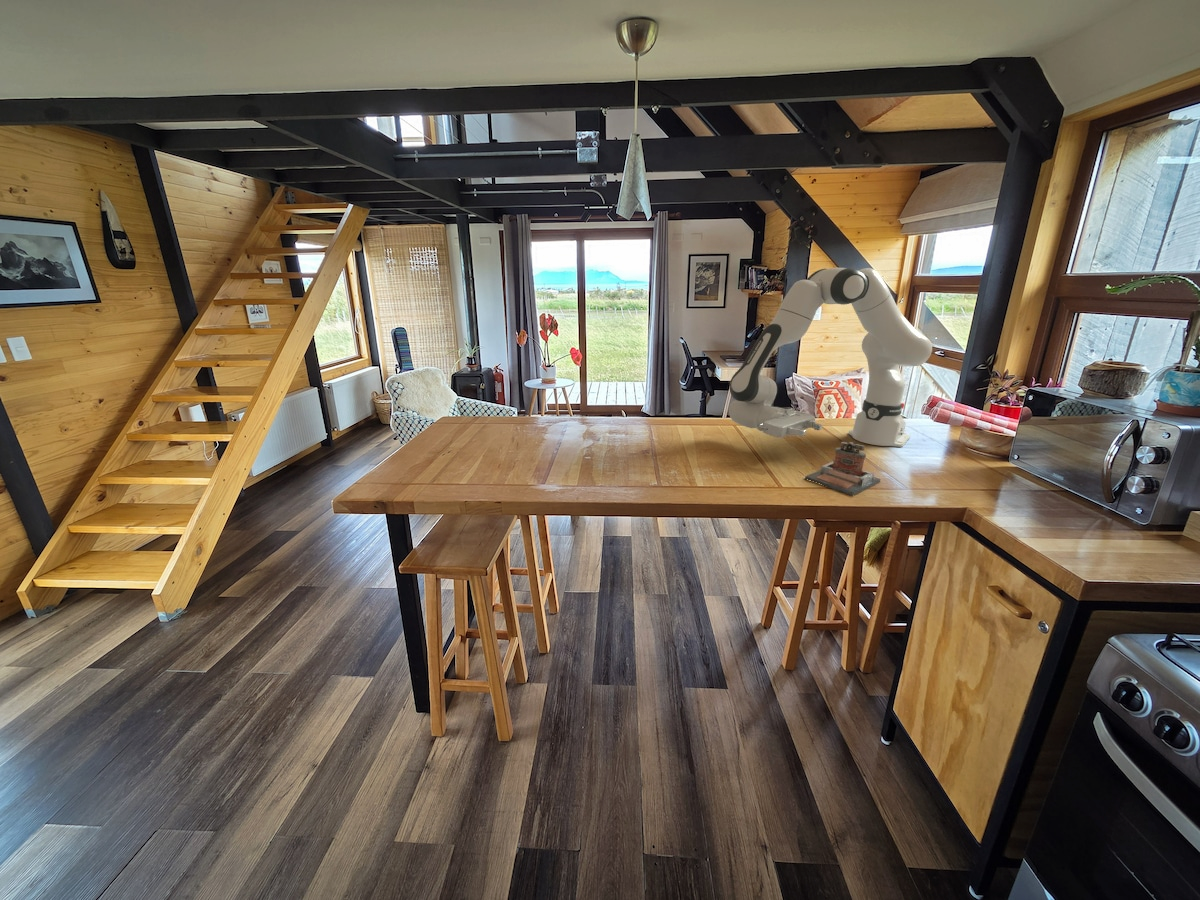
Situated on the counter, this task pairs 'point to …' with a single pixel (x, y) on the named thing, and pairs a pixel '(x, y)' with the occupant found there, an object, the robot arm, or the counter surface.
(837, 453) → the lighter
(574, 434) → the counter surface
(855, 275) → the robot arm
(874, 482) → the plate
